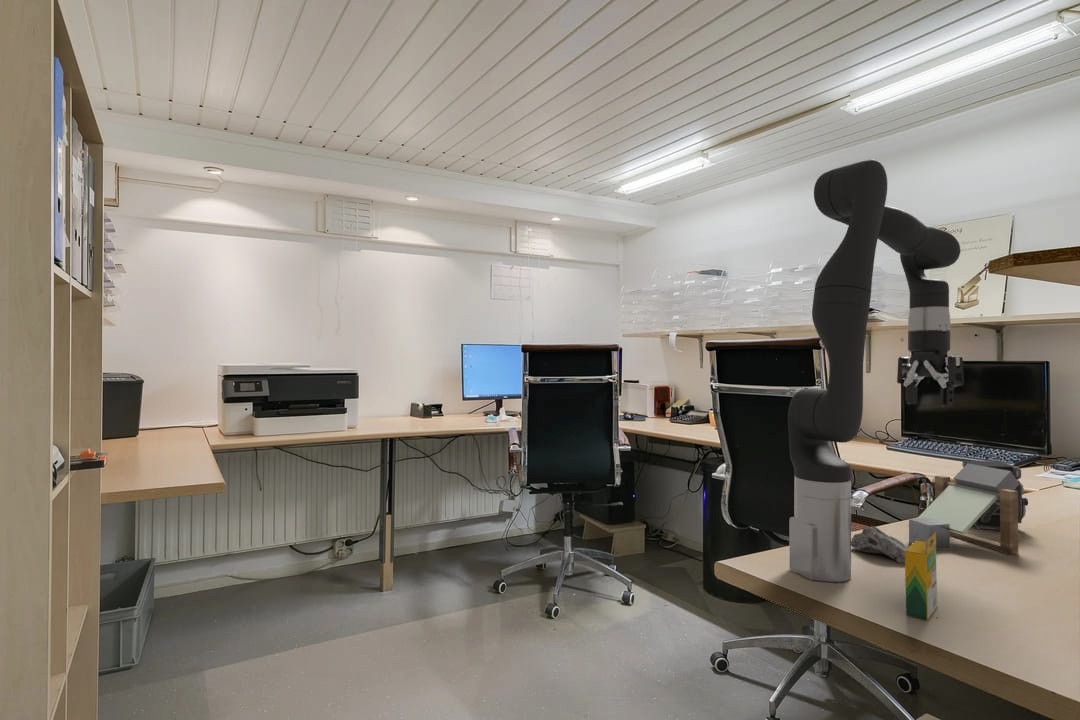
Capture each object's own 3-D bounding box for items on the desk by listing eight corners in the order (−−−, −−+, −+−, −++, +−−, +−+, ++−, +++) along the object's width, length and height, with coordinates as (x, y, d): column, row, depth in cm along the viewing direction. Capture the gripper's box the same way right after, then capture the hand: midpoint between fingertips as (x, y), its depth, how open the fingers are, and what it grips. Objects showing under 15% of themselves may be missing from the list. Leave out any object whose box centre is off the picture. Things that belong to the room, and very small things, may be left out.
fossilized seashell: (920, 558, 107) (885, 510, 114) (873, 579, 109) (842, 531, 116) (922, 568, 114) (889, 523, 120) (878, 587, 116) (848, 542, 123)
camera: (1032, 536, 128) (1032, 468, 128) (976, 531, 131) (975, 465, 132) (1011, 523, 138) (1011, 460, 138) (959, 519, 141) (959, 458, 141)
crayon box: (915, 601, 92) (915, 528, 92) (937, 606, 90) (937, 531, 90) (904, 615, 87) (904, 537, 87) (927, 621, 85) (927, 542, 85)
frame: (1010, 554, 115) (1009, 491, 115) (935, 530, 132) (934, 475, 132) (1018, 553, 116) (1017, 491, 116) (942, 530, 132) (942, 475, 132)
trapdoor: (973, 543, 116) (964, 529, 115) (919, 525, 128) (911, 513, 128) (1027, 485, 119) (1018, 472, 118) (969, 474, 131) (961, 462, 131)
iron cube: (949, 548, 119) (929, 549, 118) (928, 541, 124) (908, 542, 123) (949, 524, 119) (929, 525, 118) (928, 517, 124) (908, 519, 123)
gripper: (887, 331, 130) (887, 403, 129) (943, 326, 116) (943, 407, 116) (915, 332, 131) (915, 403, 131) (974, 327, 117) (974, 407, 117)
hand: (928, 405), depth 123 cm, fingers open, 8 cm apart
